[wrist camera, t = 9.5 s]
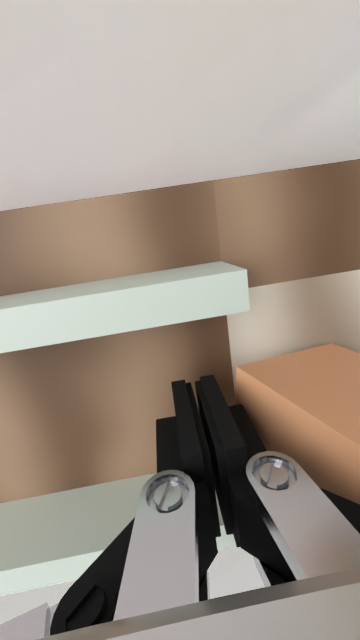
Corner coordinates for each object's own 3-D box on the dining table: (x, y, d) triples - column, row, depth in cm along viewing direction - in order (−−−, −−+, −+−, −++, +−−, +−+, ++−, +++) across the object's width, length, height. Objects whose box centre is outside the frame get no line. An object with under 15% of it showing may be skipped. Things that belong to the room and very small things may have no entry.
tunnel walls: (221, 260, 11) (246, 269, 8) (243, 476, 14) (267, 539, 11) (-107, 313, 10) (-212, 343, 7) (-8, 526, 13) (-53, 607, 10)
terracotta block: (331, 343, 12) (495, 401, 8) (317, 440, 13) (448, 536, 9) (236, 366, 10) (386, 463, 6) (230, 478, 11) (347, 625, 7)
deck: (553, 143, 15) (698, 110, 11) (497, 406, 19) (583, 448, 15) (-434, 289, 12) (-703, 313, 8) (-226, 548, 17) (-337, 640, 13)
